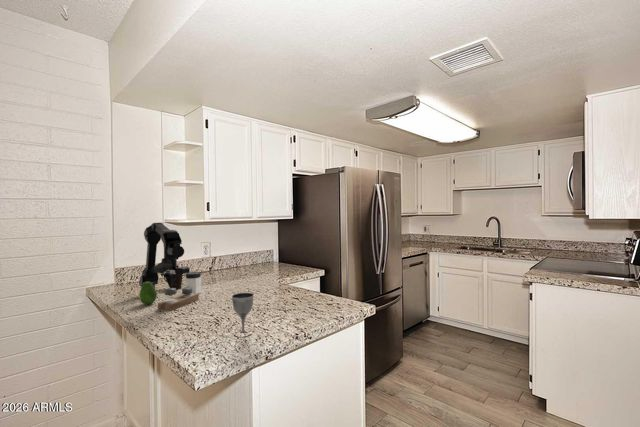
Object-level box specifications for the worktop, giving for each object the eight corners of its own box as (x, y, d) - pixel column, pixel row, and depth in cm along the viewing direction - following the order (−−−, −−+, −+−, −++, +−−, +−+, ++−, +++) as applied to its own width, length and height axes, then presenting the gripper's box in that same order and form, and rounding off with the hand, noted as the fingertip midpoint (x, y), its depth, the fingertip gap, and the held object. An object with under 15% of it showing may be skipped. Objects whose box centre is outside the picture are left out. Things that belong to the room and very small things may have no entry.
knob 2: (180, 295, 163) (180, 289, 163) (186, 293, 168) (186, 287, 168) (187, 296, 162) (187, 290, 162) (194, 293, 166) (194, 287, 166)
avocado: (136, 305, 157) (136, 282, 157) (150, 301, 164) (150, 279, 164) (145, 307, 154) (145, 283, 154) (160, 303, 160) (160, 280, 160)
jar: (203, 293, 180) (202, 273, 180) (188, 295, 175) (188, 274, 175) (198, 290, 187) (198, 270, 187) (184, 292, 182) (183, 272, 182)
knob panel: (157, 309, 150) (157, 302, 150) (186, 298, 170) (186, 292, 170) (171, 310, 148) (171, 303, 148) (198, 299, 167) (198, 293, 167)
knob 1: (162, 296, 151) (162, 290, 151) (170, 294, 156) (170, 287, 156) (170, 297, 150) (170, 290, 150) (178, 294, 155) (178, 288, 155)
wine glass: (234, 330, 122) (234, 292, 122) (254, 329, 123) (254, 292, 123) (230, 338, 114) (230, 298, 114) (252, 337, 115) (251, 297, 115)
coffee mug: (185, 288, 194) (185, 272, 194) (173, 291, 187) (173, 274, 187) (175, 285, 200) (175, 270, 200) (162, 288, 193) (162, 272, 193)
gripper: (142, 257, 148) (142, 289, 148) (173, 258, 143) (174, 292, 143) (159, 254, 159) (160, 284, 159) (190, 255, 154) (190, 286, 154)
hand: (170, 287), depth 153 cm, fingers closed
